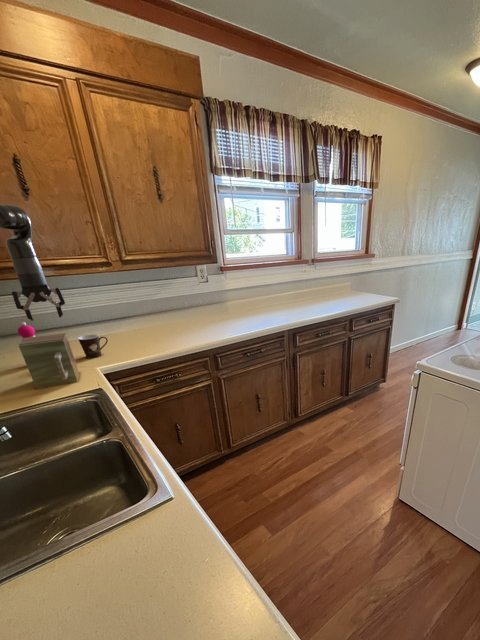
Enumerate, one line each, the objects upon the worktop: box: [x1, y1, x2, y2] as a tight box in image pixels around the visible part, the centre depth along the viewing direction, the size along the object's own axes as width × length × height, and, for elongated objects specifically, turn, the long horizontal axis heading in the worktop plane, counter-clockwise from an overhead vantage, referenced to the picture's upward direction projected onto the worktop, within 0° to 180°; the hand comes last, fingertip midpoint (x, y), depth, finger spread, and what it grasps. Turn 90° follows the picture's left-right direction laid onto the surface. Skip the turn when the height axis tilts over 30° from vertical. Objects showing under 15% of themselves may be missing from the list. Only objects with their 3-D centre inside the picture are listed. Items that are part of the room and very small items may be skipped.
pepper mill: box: [17, 321, 36, 341], centre depth 148 cm, size 7×7×20 cm
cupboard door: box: [18, 340, 79, 390], centre depth 125 cm, size 8×14×18 cm, turn 119°
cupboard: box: [18, 332, 80, 381], centre depth 132 cm, size 10×14×18 cm
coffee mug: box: [77, 334, 108, 359], centre depth 161 cm, size 12×9×10 cm
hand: (46, 318), depth 120 cm, fingers open, 8 cm apart
